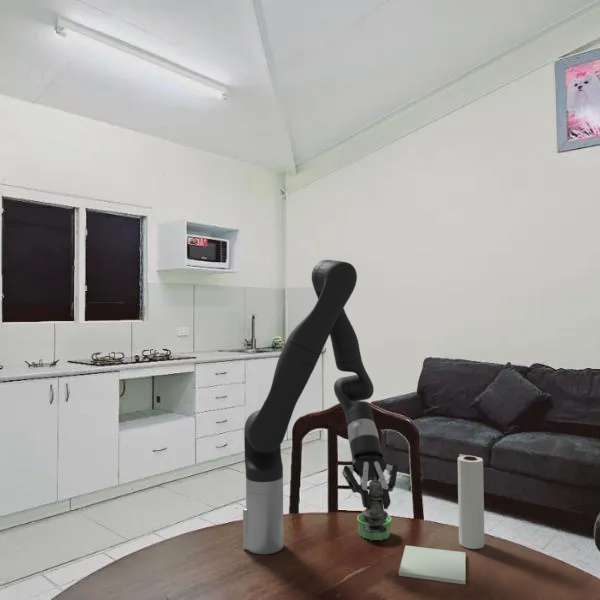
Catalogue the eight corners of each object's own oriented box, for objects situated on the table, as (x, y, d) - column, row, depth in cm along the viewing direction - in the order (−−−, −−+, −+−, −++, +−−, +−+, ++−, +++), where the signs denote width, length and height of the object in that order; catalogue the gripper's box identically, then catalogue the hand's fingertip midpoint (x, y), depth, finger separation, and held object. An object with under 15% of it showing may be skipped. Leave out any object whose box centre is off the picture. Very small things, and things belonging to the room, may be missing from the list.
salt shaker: (387, 535, 121) (387, 481, 121) (361, 532, 122) (361, 479, 122) (388, 525, 127) (388, 473, 127) (363, 522, 128) (363, 472, 128)
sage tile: (398, 575, 118) (398, 571, 118) (405, 548, 132) (405, 545, 132) (465, 584, 114) (465, 580, 114) (465, 555, 127) (465, 552, 127)
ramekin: (353, 528, 144) (353, 512, 144) (386, 527, 145) (386, 510, 145) (361, 543, 135) (361, 525, 135) (396, 541, 136) (396, 523, 136)
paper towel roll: (483, 551, 130) (482, 462, 130) (457, 547, 132) (456, 459, 132) (485, 539, 136) (483, 454, 137) (460, 536, 139) (459, 452, 139)
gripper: (339, 433, 131) (350, 501, 119) (395, 432, 133) (411, 499, 121) (334, 450, 136) (344, 516, 124) (388, 448, 139) (403, 514, 126)
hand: (377, 507), depth 123 cm, fingers closed on salt shaker, 3 cm apart
